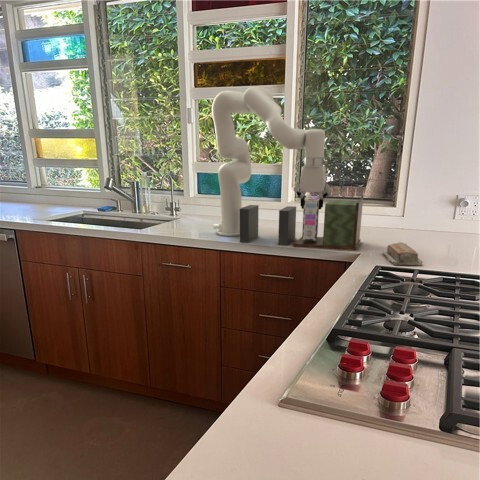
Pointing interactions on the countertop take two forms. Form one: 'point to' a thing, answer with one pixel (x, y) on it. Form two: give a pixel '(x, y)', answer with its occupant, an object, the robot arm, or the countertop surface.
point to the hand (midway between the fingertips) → (311, 208)
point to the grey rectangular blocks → (251, 224)
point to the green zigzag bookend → (338, 226)
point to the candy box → (310, 218)
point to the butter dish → (402, 254)
